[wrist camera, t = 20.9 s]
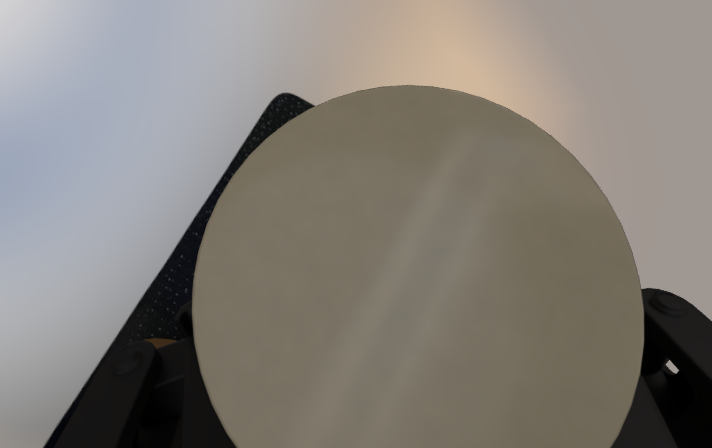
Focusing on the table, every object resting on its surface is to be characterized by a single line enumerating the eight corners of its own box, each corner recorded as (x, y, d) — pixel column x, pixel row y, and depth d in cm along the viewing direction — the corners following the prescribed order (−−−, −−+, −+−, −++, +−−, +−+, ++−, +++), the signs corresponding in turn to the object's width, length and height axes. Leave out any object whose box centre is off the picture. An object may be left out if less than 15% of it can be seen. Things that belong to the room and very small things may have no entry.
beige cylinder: (450, 255, 18) (683, 165, 5) (409, 373, 16) (587, 661, 4) (341, 211, 18) (304, 33, 6) (292, 322, 17) (100, 416, 4)
